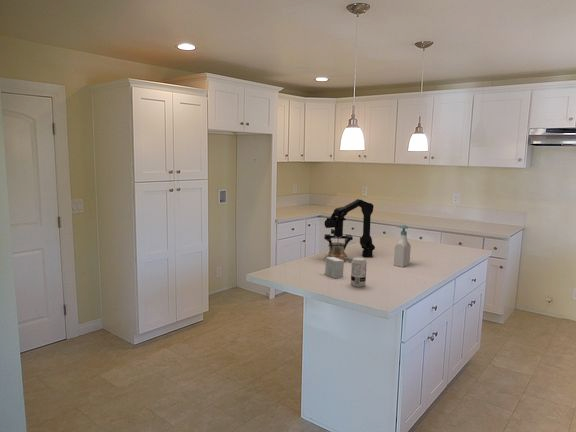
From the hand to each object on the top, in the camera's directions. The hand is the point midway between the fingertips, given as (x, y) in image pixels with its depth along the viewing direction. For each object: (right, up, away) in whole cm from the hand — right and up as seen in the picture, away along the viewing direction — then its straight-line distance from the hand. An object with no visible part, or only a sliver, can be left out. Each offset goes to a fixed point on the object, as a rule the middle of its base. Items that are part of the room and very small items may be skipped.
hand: (337, 249), depth 288 cm
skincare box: (-6, -13, -34) cm, 37 cm away
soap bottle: (+42, -10, -3) cm, 43 cm away
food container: (+1, -7, +15) cm, 16 cm away
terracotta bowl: (0, -8, +1) cm, 8 cm away
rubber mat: (+13, -9, +2) cm, 15 cm away
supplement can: (+5, -16, -51) cm, 54 cm away
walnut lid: (0, -4, +1) cm, 4 cm away
